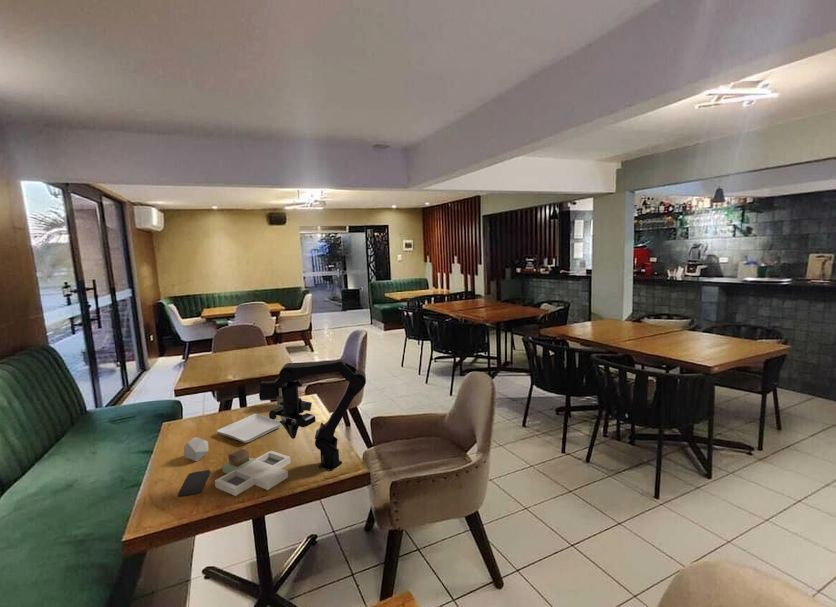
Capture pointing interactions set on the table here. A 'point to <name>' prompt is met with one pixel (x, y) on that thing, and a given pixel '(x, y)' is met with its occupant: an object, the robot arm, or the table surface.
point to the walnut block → (238, 457)
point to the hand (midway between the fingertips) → (293, 438)
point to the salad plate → (250, 428)
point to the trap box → (254, 473)
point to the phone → (194, 483)
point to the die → (195, 449)
